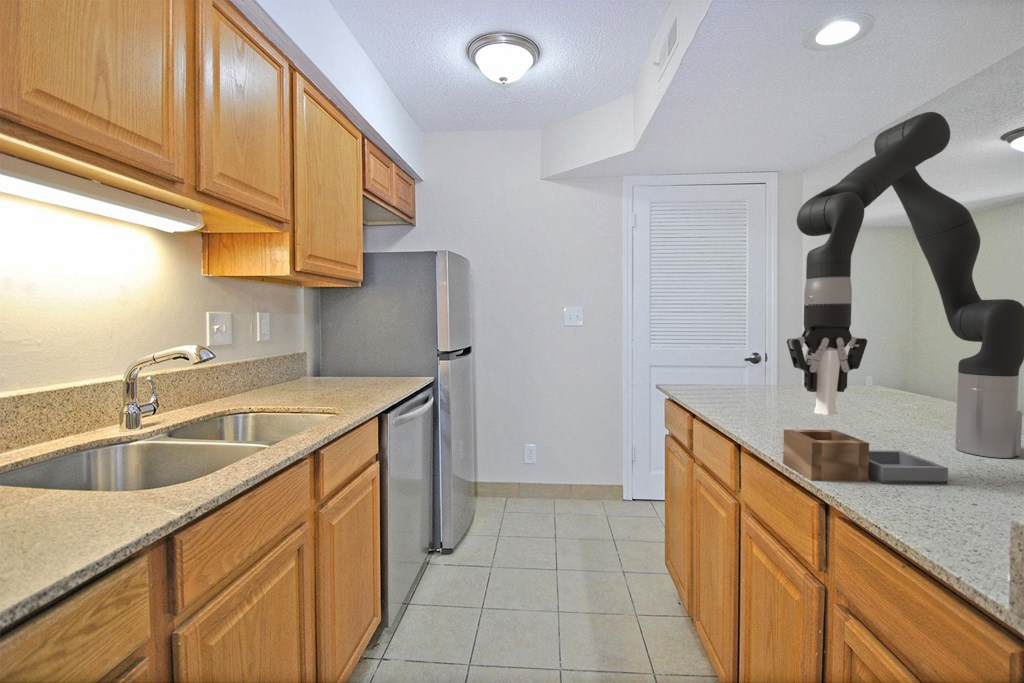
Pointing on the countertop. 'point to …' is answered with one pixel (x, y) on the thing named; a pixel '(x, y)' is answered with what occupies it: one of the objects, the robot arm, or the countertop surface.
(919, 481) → the tray
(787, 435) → the wooden cubby box
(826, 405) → the perfume bottle
